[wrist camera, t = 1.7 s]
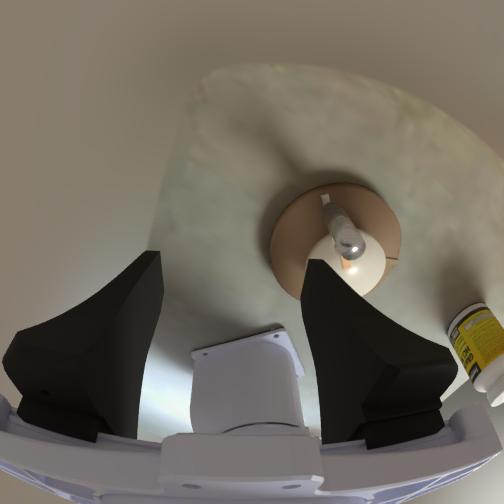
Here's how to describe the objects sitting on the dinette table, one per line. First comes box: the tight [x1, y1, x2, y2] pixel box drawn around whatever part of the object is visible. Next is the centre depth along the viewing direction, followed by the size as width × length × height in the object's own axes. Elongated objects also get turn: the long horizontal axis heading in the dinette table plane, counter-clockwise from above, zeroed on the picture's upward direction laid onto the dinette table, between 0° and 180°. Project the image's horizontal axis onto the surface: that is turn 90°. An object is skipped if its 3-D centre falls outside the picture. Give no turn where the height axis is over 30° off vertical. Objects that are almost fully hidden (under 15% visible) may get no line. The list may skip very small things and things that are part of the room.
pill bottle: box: [448, 303, 504, 407], centre depth 25 cm, size 6×6×11 cm
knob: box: [305, 202, 386, 297], centre depth 19 cm, size 8×6×4 cm
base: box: [270, 183, 401, 301], centre depth 22 cm, size 10×10×2 cm
